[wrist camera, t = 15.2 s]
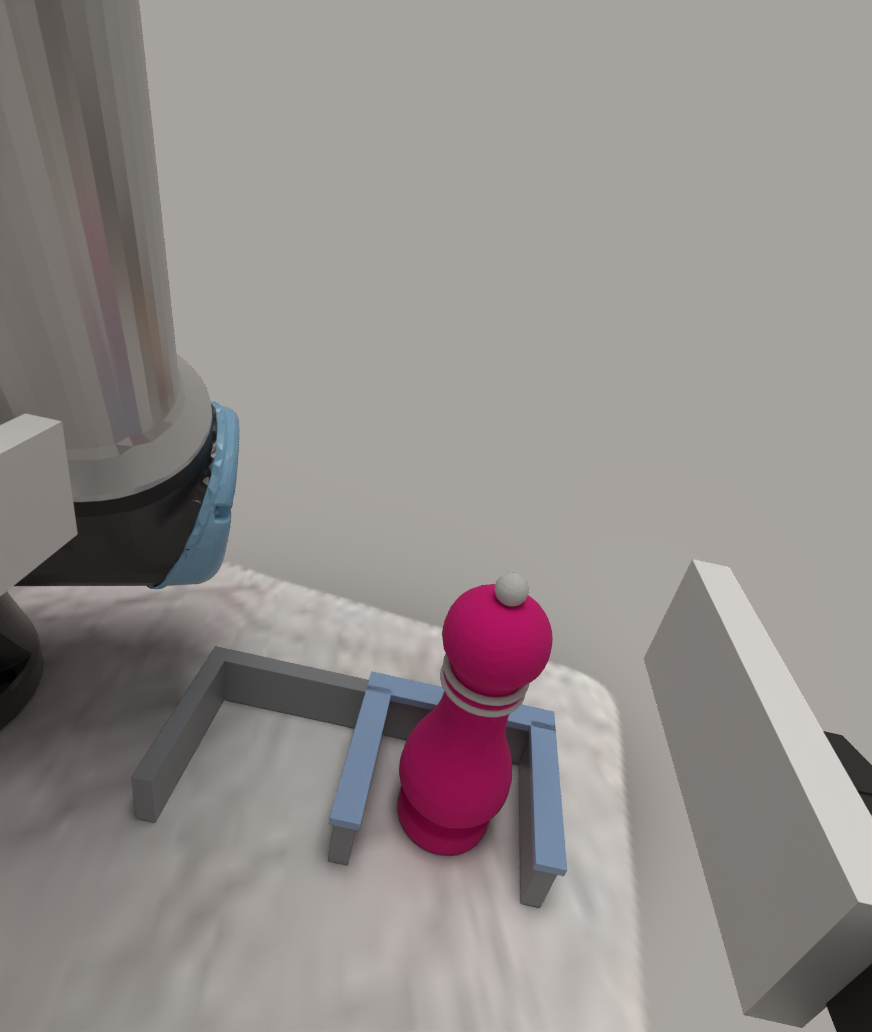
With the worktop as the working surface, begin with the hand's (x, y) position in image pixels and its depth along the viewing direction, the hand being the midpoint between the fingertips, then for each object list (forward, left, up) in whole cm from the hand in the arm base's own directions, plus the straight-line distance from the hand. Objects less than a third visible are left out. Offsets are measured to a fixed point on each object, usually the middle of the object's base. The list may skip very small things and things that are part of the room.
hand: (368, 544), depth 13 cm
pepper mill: (-5, +15, -30) cm, 34 cm away
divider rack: (-10, +11, -30) cm, 34 cm away
